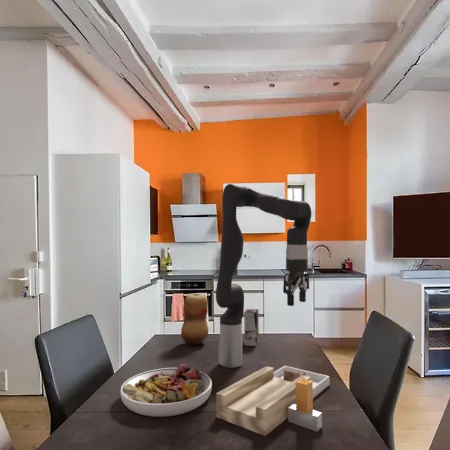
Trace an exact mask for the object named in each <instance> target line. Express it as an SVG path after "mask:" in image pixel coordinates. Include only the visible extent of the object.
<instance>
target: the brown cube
mask: <svg viewBox="0 0 450 450" xmlns="http://www.w3.org/2000/svg"><path fill="white" fill-rule="evenodd" d="M294 372H298V373H300V376H301V375H304V376H305V372H303V371H299V370H294Z"/></svg>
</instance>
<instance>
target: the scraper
mask: <svg viewBox="0 0 450 450" xmlns="http://www.w3.org/2000/svg"><path fill="white" fill-rule="evenodd" d="M287 421H288V422H289V423H292V424H295V425H297V426H300V427H304V428H306V429H309V430H312V431H313V432H318V431H320V430H321V429H322V428H323V414H322V412H321V411H318V410H315V409H314V398H313V388H312V381H310V380H306V379H302V378H301V379H299V380H298V381H296V404H292V405H290V406H289V407H288V418H287Z"/></svg>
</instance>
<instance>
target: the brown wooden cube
mask: <svg viewBox="0 0 450 450" xmlns="http://www.w3.org/2000/svg"><path fill="white" fill-rule="evenodd" d="M298 377H300V373H298V372H294V371H290V370H287V371H284V378H283V379H285V380H289V381H294V380H295V379H297V378H298Z"/></svg>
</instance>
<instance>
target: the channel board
mask: <svg viewBox="0 0 450 450" xmlns="http://www.w3.org/2000/svg"><path fill="white" fill-rule="evenodd" d="M274 372H275V370H274V367H271V366H264V367H262V368H261V369H259V370H257V371H255V372H253V373H251V374H250V375H247V376H245V377H244V378H242V379H240V380H238V381H236V382H235V383H233V384H231V385H229V386H227V387H225V388H224V389H222V390H220V391H218V392H216V395H215V396H216V399H215V400H216V418H218V419H221V420H223V421H226V422H228V423H231V424H233V425H236V426H239V427H241V428H243V429H246V430H248V431H251V432H254V433H256V434H259V435H262V436H263V437H266V436H268V435H269V434H270V433H271V432H272V431H273V430H275V429H276V428H278V426H280V425H281V424H282V423H283V422H284V421H286V420H288V407H289V406H290V405H292V404H296V381H298V380H299V379H301V378H302V379H306V380H310V381H311V379H310V377H308V376H304V375H301V376H300V377H298V378H297V379H295V380H294V381H289V380H285V379H281V378H277V377H274Z"/></svg>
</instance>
